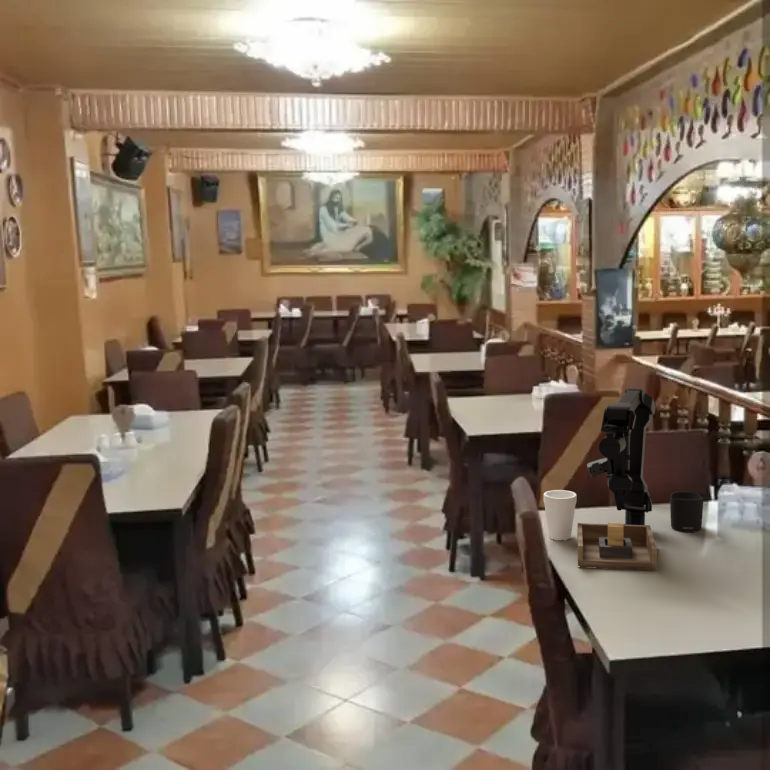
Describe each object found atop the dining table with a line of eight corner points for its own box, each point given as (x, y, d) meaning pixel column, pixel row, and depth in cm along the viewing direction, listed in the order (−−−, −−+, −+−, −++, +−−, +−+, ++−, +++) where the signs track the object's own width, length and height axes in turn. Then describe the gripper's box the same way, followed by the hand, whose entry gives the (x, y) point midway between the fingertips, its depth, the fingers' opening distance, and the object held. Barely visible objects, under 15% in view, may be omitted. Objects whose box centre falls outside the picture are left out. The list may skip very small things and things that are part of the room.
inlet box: (577, 543, 254) (577, 523, 253) (649, 545, 250) (650, 525, 249) (578, 567, 235) (578, 545, 234) (656, 570, 231) (656, 548, 230)
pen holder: (663, 528, 266) (664, 496, 264) (679, 521, 272) (680, 489, 270) (692, 535, 259) (693, 502, 257) (708, 527, 265) (709, 495, 263)
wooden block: (607, 550, 245) (607, 522, 244) (622, 550, 244) (622, 522, 243) (608, 554, 241) (608, 526, 240) (623, 555, 240) (623, 527, 239)
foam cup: (573, 543, 254) (574, 499, 252) (541, 540, 257) (541, 497, 255) (577, 533, 263) (578, 491, 261) (546, 531, 266) (546, 489, 264)
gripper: (588, 442, 254) (587, 495, 256) (589, 457, 236) (589, 514, 238) (628, 443, 251) (627, 496, 254) (632, 458, 233) (632, 515, 236)
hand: (618, 505), depth 245 cm, fingers open, 9 cm apart
